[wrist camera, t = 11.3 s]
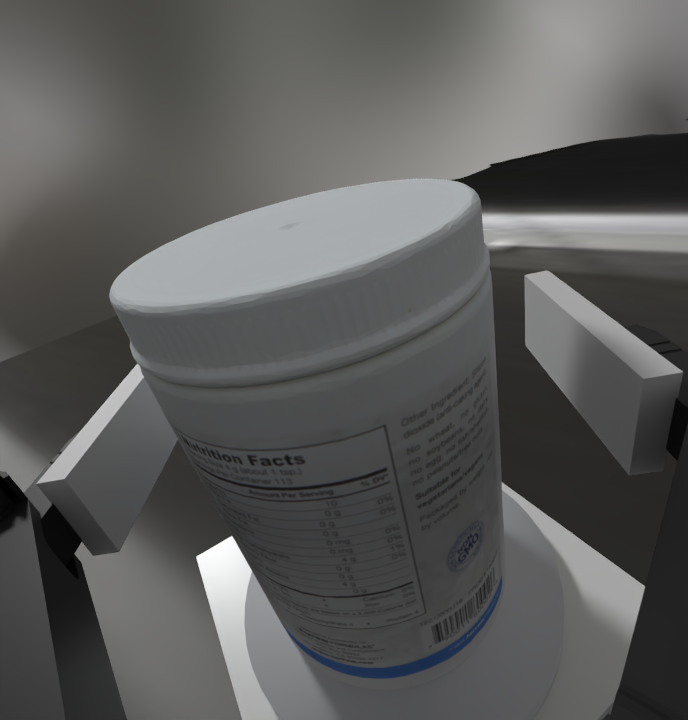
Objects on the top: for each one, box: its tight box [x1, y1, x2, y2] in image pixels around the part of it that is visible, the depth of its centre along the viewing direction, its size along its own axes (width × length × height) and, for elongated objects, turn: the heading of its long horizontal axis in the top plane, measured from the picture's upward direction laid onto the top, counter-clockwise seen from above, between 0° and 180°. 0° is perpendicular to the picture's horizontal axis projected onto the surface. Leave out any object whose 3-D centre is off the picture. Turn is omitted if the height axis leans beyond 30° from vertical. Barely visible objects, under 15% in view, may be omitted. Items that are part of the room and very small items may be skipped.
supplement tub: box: [109, 179, 506, 690], centre depth 14 cm, size 10×10×15 cm
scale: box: [196, 483, 645, 720], centre depth 19 cm, size 15×15×4 cm
